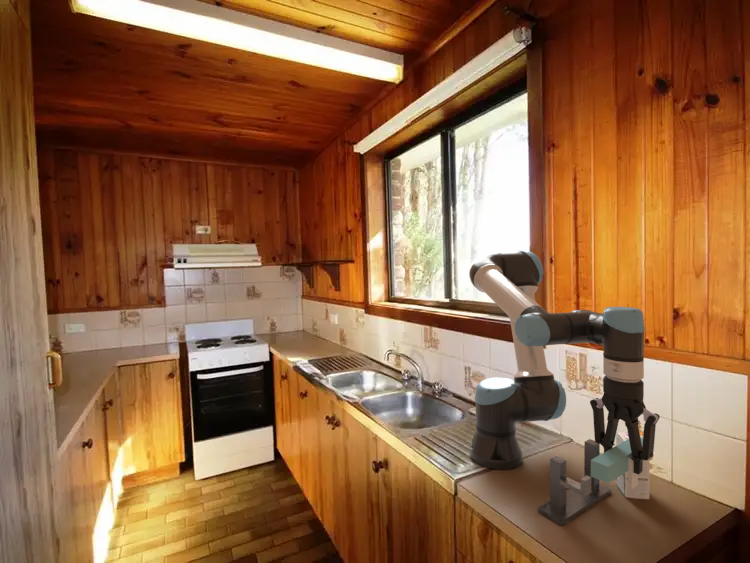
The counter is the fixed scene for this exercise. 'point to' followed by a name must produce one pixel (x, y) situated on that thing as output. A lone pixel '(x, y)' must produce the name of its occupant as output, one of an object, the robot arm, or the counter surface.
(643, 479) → the syrup box
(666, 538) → the counter surface
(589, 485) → the rack
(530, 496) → the counter surface
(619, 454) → the block
